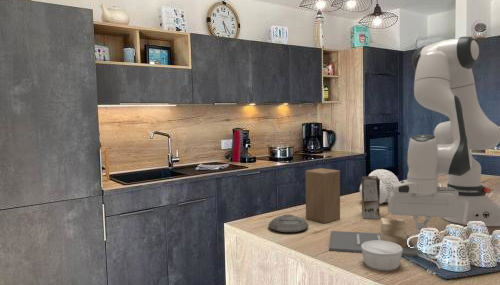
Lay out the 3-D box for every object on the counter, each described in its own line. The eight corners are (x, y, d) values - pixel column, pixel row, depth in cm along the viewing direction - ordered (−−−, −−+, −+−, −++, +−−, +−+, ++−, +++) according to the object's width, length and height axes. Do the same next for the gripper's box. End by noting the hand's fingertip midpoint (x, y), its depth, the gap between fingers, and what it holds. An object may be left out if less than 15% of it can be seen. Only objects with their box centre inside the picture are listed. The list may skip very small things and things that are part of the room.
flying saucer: (316, 230, 142) (316, 215, 142) (284, 238, 134) (284, 222, 134) (291, 221, 155) (291, 207, 154) (260, 227, 147) (260, 213, 146)
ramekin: (362, 271, 104) (362, 252, 104) (359, 256, 115) (359, 239, 115) (406, 274, 102) (406, 254, 102) (398, 258, 113) (399, 240, 113)
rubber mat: (408, 237, 131) (408, 233, 131) (418, 256, 114) (418, 252, 114) (331, 233, 137) (331, 229, 137) (329, 250, 120) (329, 246, 120)
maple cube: (403, 239, 126) (403, 219, 126) (406, 247, 120) (406, 225, 119) (380, 238, 128) (380, 218, 128) (382, 245, 121) (382, 224, 121)
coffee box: (380, 219, 154) (380, 179, 153) (363, 218, 155) (363, 179, 154) (377, 213, 163) (377, 175, 162) (361, 212, 164) (361, 175, 163)
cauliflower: (375, 179, 196) (380, 157, 184) (405, 199, 185) (413, 177, 174) (349, 200, 187) (353, 178, 176) (379, 223, 177) (385, 201, 165)
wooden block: (321, 214, 163) (321, 167, 161) (340, 219, 155) (340, 170, 154) (305, 218, 157) (304, 170, 155) (324, 223, 149) (324, 173, 147)
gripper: (455, 185, 121) (454, 228, 122) (387, 183, 126) (387, 224, 127) (461, 189, 115) (460, 234, 116) (389, 187, 120) (389, 230, 121)
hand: (421, 229), depth 121 cm, fingers closed
